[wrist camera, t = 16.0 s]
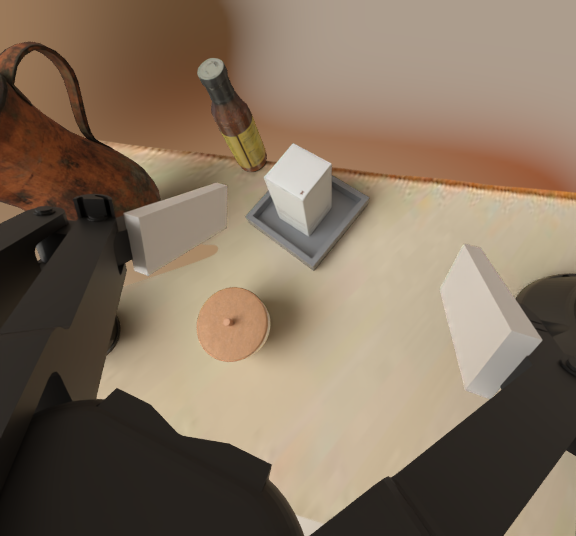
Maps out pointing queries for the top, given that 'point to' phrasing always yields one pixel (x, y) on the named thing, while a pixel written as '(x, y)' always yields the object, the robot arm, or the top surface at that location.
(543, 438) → the robot arm
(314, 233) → the tray
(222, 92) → the sauce bottle
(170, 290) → the top surface
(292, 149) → the supplement box
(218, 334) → the lidded jar
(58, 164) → the pitcher
